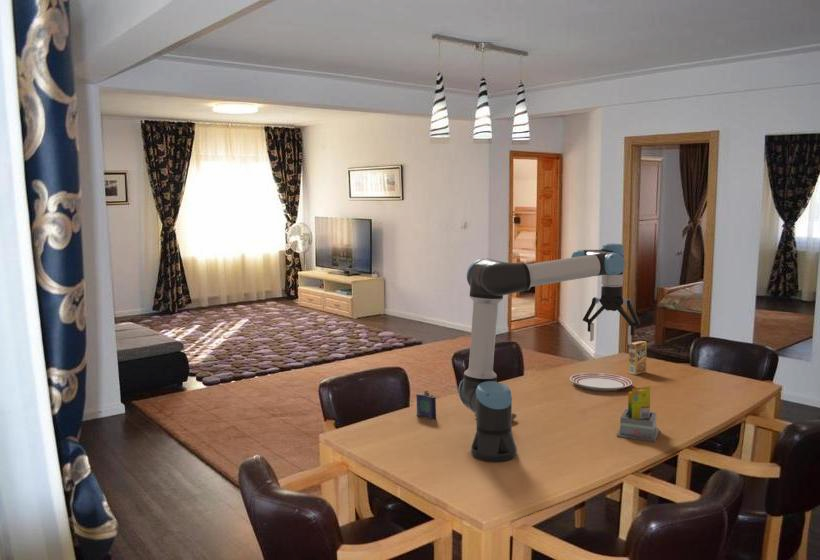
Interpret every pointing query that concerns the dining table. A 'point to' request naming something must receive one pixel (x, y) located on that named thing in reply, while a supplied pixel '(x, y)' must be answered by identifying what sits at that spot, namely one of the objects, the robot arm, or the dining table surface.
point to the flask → (426, 405)
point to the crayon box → (639, 403)
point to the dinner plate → (600, 381)
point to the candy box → (637, 357)
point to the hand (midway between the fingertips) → (610, 342)
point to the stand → (638, 427)
